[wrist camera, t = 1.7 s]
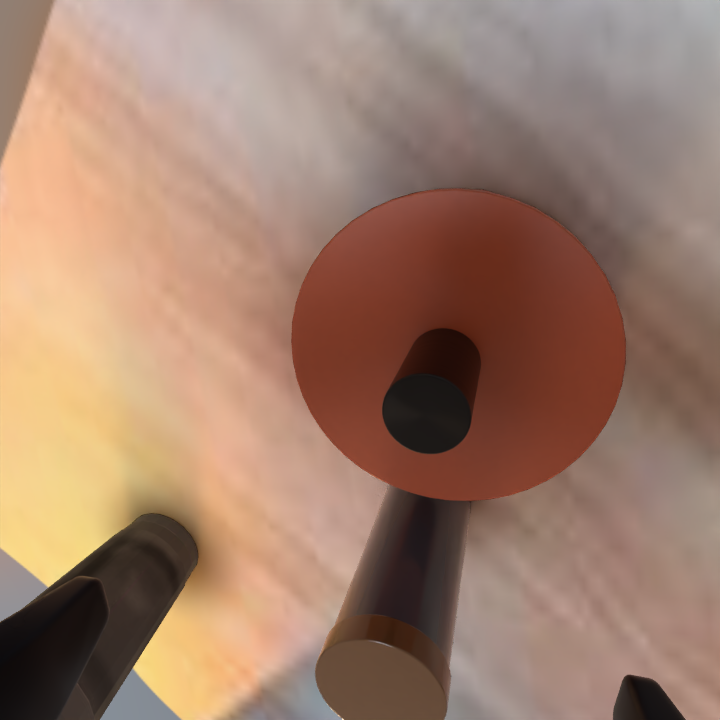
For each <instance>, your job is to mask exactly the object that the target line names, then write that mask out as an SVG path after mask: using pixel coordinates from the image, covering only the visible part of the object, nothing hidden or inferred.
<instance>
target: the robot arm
mask: <svg viewBox="0 0 720 720" xmlns="http://www.w3.org/2000/svg"><path fill="white" fill-rule="evenodd" d="M109 614H110V609H109V605H108V601H107V597H106V593H105V589H104V586H103V583H102V581H101V580H100V579H98V578H93V577H87V576H78V577H75V578H73V579H72V580H70V581H68V582H67V583H65V584H63V585H61V586H60V587H58V588H56V589H55V590H53V591H51V592H50V593H48V594H46V595H45V596H43V597H41V598H40V599H38V600H36V601H35V602H33V603H31V604H30V605H28V606H26V607H25V608H23V609H21V610H20V611H18V612H16V613H14V614H13V615H11V616H10V617H8V618H6V619H4V620H3V621H1V622H0V720H58V718H59V716H60V714H61V713H62V711H63V709H64V707H65V706H66V704H67V702H68V700H69V698H70V696H71V694H72V692H73V690H74V688H75V686H76V684H77V682H78V680H79V678H80V677H81V675H82V673H83V671H84V669H85V667H86V665H87V663H88V661H89V659H90V657H91V655H92V653H93V651H94V649H95V647H96V645H97V643H98V641H99V639H100V637H101V635H102V633H103V631H104V629H105V627H106V625H107V622H108V619H109ZM613 720H686V719H685V718H684V717H683V716H682V714H681V713H680V712H679V710H678V709H677V708H676V706H675V705H674V704H673V702H672V701H671V700H670V698H669V697H668V696H667V694H666V693H665V692H664V691H663V689H662V688H661V687H660V685H659V684H658V683H657V682H656V681H654V680H653V679H650V678H645V677H640V676H634V675H627V676H625V677H624V679H623V681H622V684H621V687H620V690H619V693H618V696H617V699H616V703H615V706H614V711H613Z"/></svg>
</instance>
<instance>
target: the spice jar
mask: <svg viewBox="0 0 720 720" xmlns="http://www.w3.org/2000/svg"><path fill="white" fill-rule="evenodd" d="M469 518H470V501H453V500H443V499H436V498H430V497H426V496H422V495H418V494H414V493H410V492H408V491H405V490H402V489H399V488H397V487H394V486H392V485H390V484H389V486H388V489H387V491H386V494H385V497H384V499H383V502H382V504H381V507H380V510H379V512H378V515H377V517H376V520H375V522H374V525H373V528H372V530H371V533H370V535H369V538H368V540H367V543H366V546H365V548H364V551H363V553H362V556H361V558H360V561H359V564H358V566H357V569H356V571H355V574H354V576H353V579H352V582H351V584H350V587H349V589H348V592H347V594H346V597H345V600H344V602H343V605H342V607H341V610H340V612H339V615H338V618H337V620H336V623H335V625H334V627H333V628H332V629H331V631H330V632H329V634H328V636H327V637H326V640H325V643H324V645H323V648H322V650H321V653H320V655H319V658H318V660H317V664H316V668H315V677H316V683H317V686H318V689H319V691H320V693H321V695H322V697H323V699H324V700H325V702H326V703H327V704H328V706H329V707H330V708H331V709H332V710H333V711H334V712H335V713H336V714H337V715H338V716H339V717H341V718H342V719H343V720H444V719H445V717H446V713H447V708H448V700H449V692H450V684H451V674H450V669H449V667H450V660H451V652H452V645H453V637H454V630H455V622H456V615H457V607H458V600H459V592H460V585H461V577H462V570H463V563H464V555H465V548H466V540H467V533H468V525H469Z"/></svg>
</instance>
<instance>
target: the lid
mask: <svg viewBox="0 0 720 720" xmlns="http://www.w3.org/2000/svg"><path fill="white" fill-rule="evenodd" d="M291 343H292V355H293V363H294V368H295V373H296V378H297V381H298V384H299V387H300V390H301V392H302V395H303V398H304V400H305V402H306V404H307V406H308V408H309V410H310V412H311V414H312V415H313V417H314V419H315V420H316V422H317V423H318V425H319V426H320V428H321V429H322V431H323V432H324V433H325V434H326V436H327V437H328V438H329V439H330V441H331V442H332V443H333V444H334V445H335V446H336V447H337V448H338V449H339V450H340V451H341V452H342V453H343V454H344V455H345V456H346V457H348V458H349V459H350V460H351V461H353V462H354V463H355V464H356V465H358V466H359V467H360V468H362V469H363V470H365V471H366V472H368V473H369V474H371V475H373V476H374V477H376V478H378V479H380V480H382V481H384V482H386V483H388V484H390V485H392V486H394V487H397V488H399V489H402V490H405V491H408V492H410V493H414V494H418V495H422V496H426V497H430V498H436V499H443V500H453V501H476V500H488V499H494V498H499V497H504V496H509V495H512V494H515V493H518V492H522V491H525V490H528V489H530V488H532V487H534V486H536V485H539V484H541V483H543V482H545V481H547V480H549V479H550V478H552V477H553V476H555V475H557V474H558V473H560V472H562V471H563V470H564V469H566V468H567V467H568V466H569V465H571V464H572V463H573V462H574V461H575V460H577V459H578V458H579V457H580V456H581V455H582V454H583V453H584V452H585V451H586V450H587V449H588V447H589V446H590V445H591V444H592V443H593V442H594V441H595V439H596V438H597V436H598V435H599V434H600V432H601V431H602V429H603V428H604V426H605V425H606V423H607V421H608V419H609V417H610V415H611V413H612V411H613V409H614V407H615V405H616V402H617V399H618V396H619V393H620V390H621V387H622V382H623V376H624V370H625V364H626V339H625V332H624V325H623V318H622V315H621V312H620V309H619V305H618V302H617V299H616V296H615V294H614V292H613V290H612V288H611V286H610V283H609V281H608V279H607V277H606V275H605V274H604V272H603V271H602V269H601V268H600V266H599V265H598V263H597V262H596V260H595V259H594V258H593V256H592V255H591V253H590V252H589V251H588V250H587V249H586V248H585V247H584V246H583V244H582V243H581V242H580V241H579V240H578V239H577V238H576V237H575V236H574V235H573V234H572V233H571V232H569V231H568V230H567V229H566V228H564V227H563V226H562V225H561V224H560V223H558V222H557V221H556V220H554V219H553V218H551V217H549V216H548V215H546V214H544V213H543V212H541V211H539V210H538V209H536V208H534V207H532V206H530V205H527V204H525V203H523V202H520V201H518V200H516V199H513V198H511V197H507V196H503V195H499V194H496V193H492V192H488V191H481V190H473V189H465V188H452V189H434V190H427V191H421V192H415V193H412V194H408V195H405V196H402V197H398V198H395V199H392V200H390V201H388V202H385V203H383V204H381V205H379V206H376V207H374V208H372V209H370V210H369V211H367V212H365V213H364V214H362V215H361V216H359V217H357V218H356V219H354V220H353V221H351V222H350V223H349V224H348V225H347V226H345V227H344V228H343V229H342V230H341V231H340V232H338V233H337V234H336V235H335V236H334V237H333V238H332V239H331V241H330V242H329V243H328V244H327V245H326V246H325V247H324V248H323V249H322V251H321V252H320V254H319V255H318V257H317V258H316V260H315V261H314V263H313V264H312V266H311V267H310V269H309V271H308V273H307V275H306V277H305V279H304V282H303V284H302V286H301V289H300V292H299V295H298V298H297V301H296V305H295V310H294V316H293V321H292V339H291Z"/></svg>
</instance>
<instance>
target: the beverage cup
mask: <svg viewBox="0 0 720 720" xmlns="http://www.w3.org/2000/svg"><path fill="white" fill-rule="evenodd" d="M197 560H198V552H197V548H196V545H195V543H194V541H193V539H192V537H191V536H190V534H189V533H188V532H187V531H186V530H185V529H184V528H183V527H182V526H181V525H180V524H178V523H177V522H175V521H174V520H173V519H170V518H168V517H166V516H163V515H159V514H152V513H151V514H146V515H142V516H140V517H139V518H138V519H136V520H135V521H134V522H133V523H132V524H131V525H129V526H128V527H126V528H125V529H124V530H121V531H120V532H118V533H117V534H115V535H114V536H113V537H112V538H110V539H109V540H108V541H107V542H105V543H104V544H103V545H102V546H100V547H99V548H98V549H97V550H95V551H94V552H93V553H91V554H90V555H89V556H88V557H86V558H85V559H84V560H83V561H81V562H80V563H79V564H78V565H76V566H75V567H74V568H73V569H71V570H70V571H69V572H68V573H66V574H65V575H64V576H63V577H61V578H60V579H59V580H58V581H56V582H55V583H54V584H53V585H51V586H50V587H49V588H48V589H46V590H45V591H44V592H43V593H41V594H40V595H39V596H38V597H37V598H36V599H34V600H33V601H31V602H30V603H29V604H28V605H30V604H31V603H33V602H35V601H36V600H38V599H40V598H41V597H43V596H45V595H46V594H48V593H50V592H51V591H53V590H55V589H56V588H58V587H60V586H61V585H63V584H65V583H67V582H68V581H70V580H72V579H73V578H75V577H78V576H87V577H93V578H98V579H100V580H101V581H102V583H103V586H104V589H105V593H106V597H107V601H108V605H109V609H110V614H109V619H108V622H107V625H106V627H105V629H104V631H103V633H102V635H101V637H100V639H99V641H98V643H97V645H96V647H95V649H94V651H93V653H92V655H91V657H90V659H89V661H88V663H87V665H86V667H85V669H84V671H83V673H82V675H81V677H80V678H79V680H78V682H77V684H76V686H75V688H74V690H73V692H72V694H71V696H70V698H69V700H68V702H67V704H66V706H65V707H64V709H63V711H62V713H61V714H60V716H59V718H58V720H100V718H101V717H102V715H103V714H104V712H105V710H106V709H107V707H108V706H109V704H110V703H111V701H112V699H113V698H114V696H115V695H116V693H117V692H118V690H119V688H120V687H121V685H122V684H123V682H124V681H125V679H126V677H127V676H128V674H129V673H130V671H131V670H132V668H133V666H134V665H135V663H136V662H137V660H138V659H139V657H140V655H141V654H142V652H143V651H144V649H145V648H146V646H147V644H148V643H149V641H150V640H151V638H152V637H153V635H154V633H155V632H156V630H157V629H158V627H159V625H160V624H161V622H162V621H163V619H164V618H165V616H166V614H167V613H168V611H169V610H170V608H171V607H172V605H173V603H174V602H175V600H176V599H177V597H178V596H179V594H180V592H181V591H182V589H183V588H184V586H185V583H186V581H187V579H188V578H189V576H190V574H191V572H192V571H193V569H194V568H195V566H196V565H197ZM28 605H26V606H28ZM26 606H25V607H26ZM25 607H24V608H25Z"/></svg>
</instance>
